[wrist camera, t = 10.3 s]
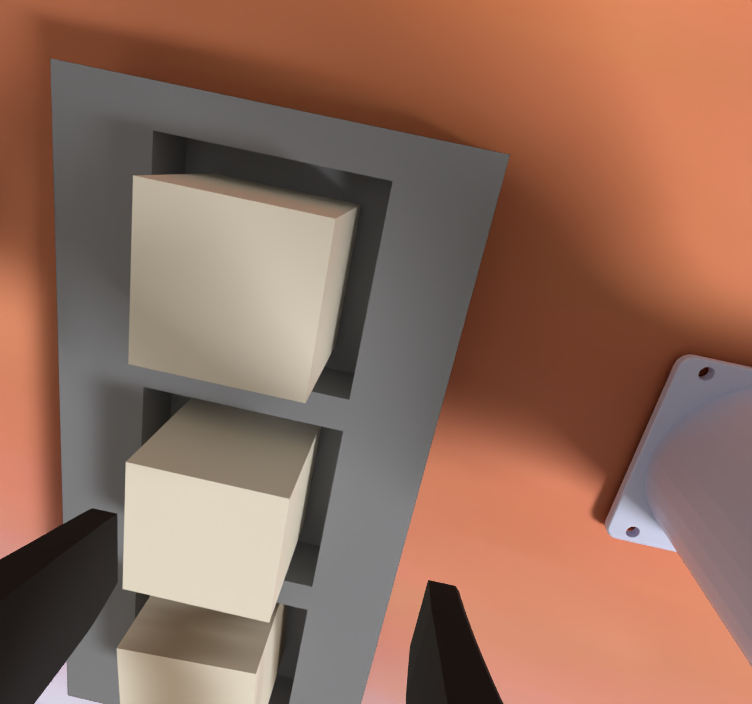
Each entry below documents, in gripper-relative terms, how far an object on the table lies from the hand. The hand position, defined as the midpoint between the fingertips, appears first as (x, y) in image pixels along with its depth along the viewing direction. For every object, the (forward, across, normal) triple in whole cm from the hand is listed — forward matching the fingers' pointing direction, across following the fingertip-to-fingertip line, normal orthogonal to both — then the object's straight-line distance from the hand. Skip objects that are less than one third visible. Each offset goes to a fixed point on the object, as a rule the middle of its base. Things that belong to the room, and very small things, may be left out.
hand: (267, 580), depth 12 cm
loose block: (+8, +3, +10) cm, 14 cm away
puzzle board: (+9, +3, +3) cm, 10 cm away
